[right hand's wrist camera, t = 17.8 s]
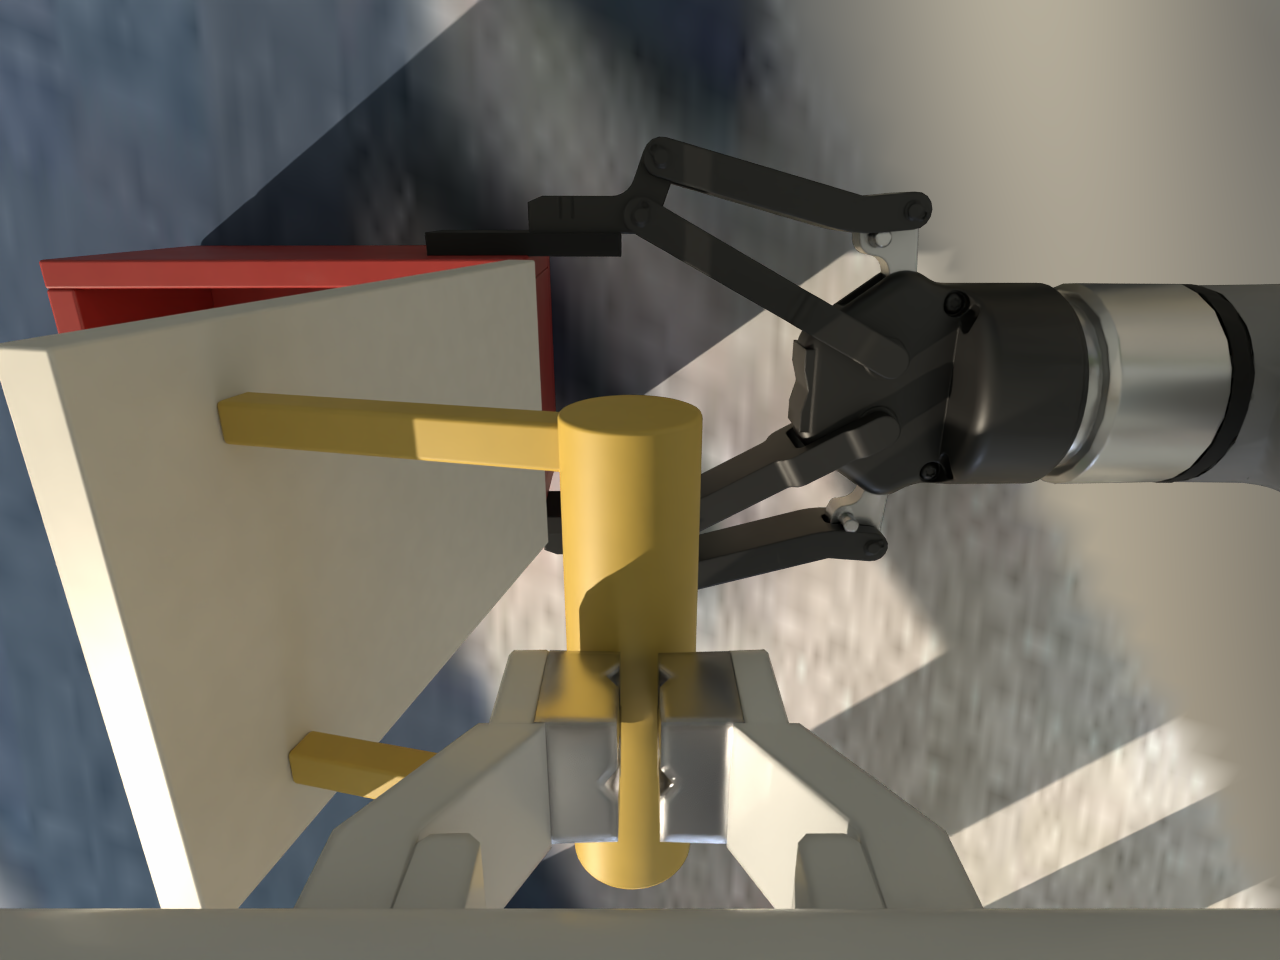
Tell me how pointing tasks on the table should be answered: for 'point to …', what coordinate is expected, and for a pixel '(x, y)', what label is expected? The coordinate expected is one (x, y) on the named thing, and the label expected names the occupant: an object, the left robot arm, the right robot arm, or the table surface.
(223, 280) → the chest
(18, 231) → the table surface
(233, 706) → the lid
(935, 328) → the left robot arm
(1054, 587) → the table surface
